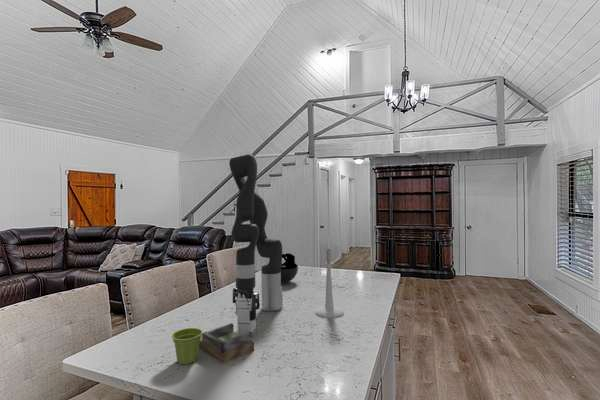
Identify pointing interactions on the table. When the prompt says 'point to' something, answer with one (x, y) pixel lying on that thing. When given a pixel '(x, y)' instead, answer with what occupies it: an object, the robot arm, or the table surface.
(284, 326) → the table surface
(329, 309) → the candlestick
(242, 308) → the syrup box
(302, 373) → the table surface
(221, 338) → the dock
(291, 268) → the bowl of black rocks
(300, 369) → the table surface
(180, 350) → the plant pot
